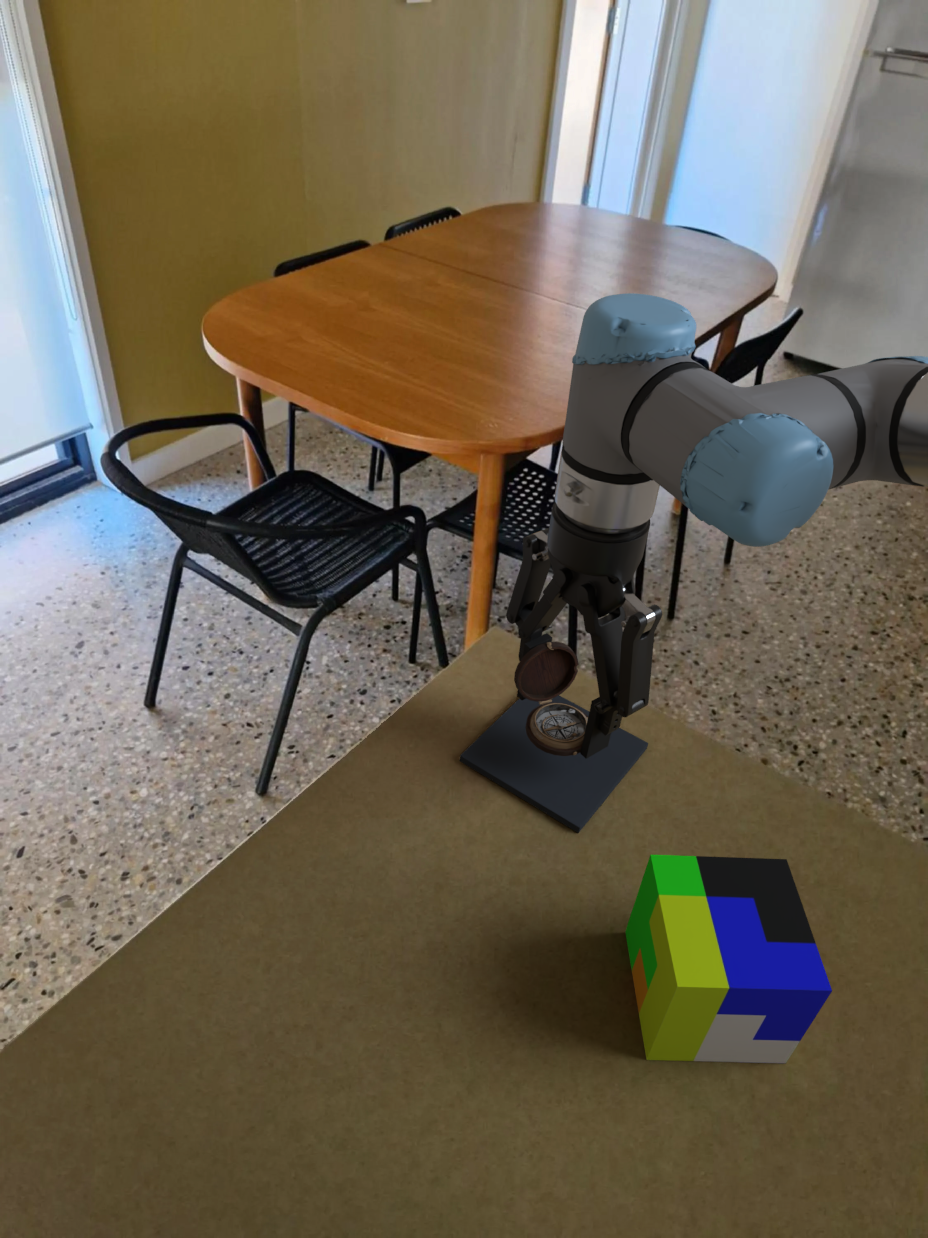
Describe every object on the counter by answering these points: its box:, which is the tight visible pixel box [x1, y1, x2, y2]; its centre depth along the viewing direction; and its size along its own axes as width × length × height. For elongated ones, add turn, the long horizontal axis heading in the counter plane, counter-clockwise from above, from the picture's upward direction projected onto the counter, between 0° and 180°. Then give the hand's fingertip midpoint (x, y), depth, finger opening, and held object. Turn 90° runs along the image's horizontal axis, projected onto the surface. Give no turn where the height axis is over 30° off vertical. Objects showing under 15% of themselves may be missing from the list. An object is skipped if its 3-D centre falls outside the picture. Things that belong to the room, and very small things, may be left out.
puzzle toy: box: [624, 854, 833, 1064], centre depth 63 cm, size 10×10×10 cm
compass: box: [513, 641, 588, 756], centre depth 79 cm, size 8×8×7 cm
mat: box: [459, 695, 649, 834], centre depth 84 cm, size 13×13×1 cm
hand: (561, 720), depth 81 cm, fingers closed on compass, 8 cm apart
